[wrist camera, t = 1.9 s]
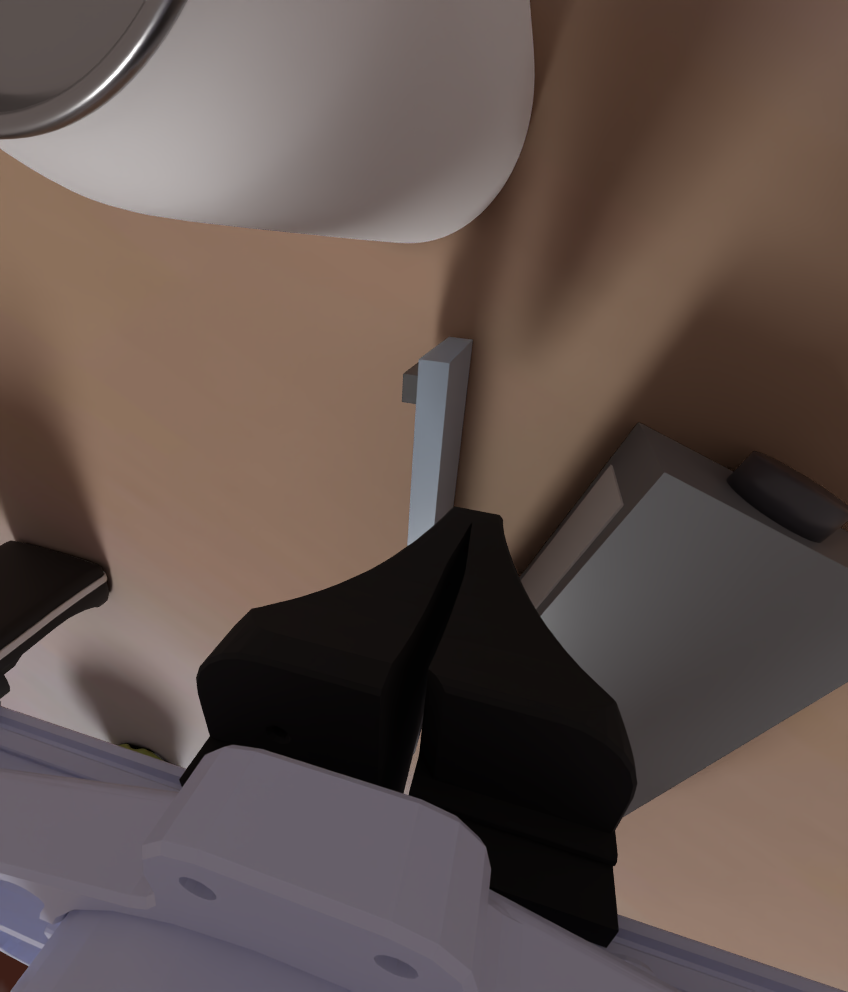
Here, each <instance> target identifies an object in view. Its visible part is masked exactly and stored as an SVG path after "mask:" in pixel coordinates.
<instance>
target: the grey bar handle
mask: <svg viewBox="0 0 848 992" xmlns="http://www.w3.org/2000/svg"><path fill="white" fill-rule="evenodd" d="M472 343H473V340H472V339H463V338H455V337H448V338H447V339H445V340H444V341H443V342H441V343H440V344H439V345H437V346H436V347H435V348H433V349H432V350H431V351H429V352H428V353H427V354H425V355H424V356H423V357H421V358H420V359H419V362H418V363H417V364H415V365H414V366H413V367H412V368H410V369H409V370H408V371H406V372H405V373H404V374H403V390H402V402H406V403H413V404H416V415H415V431H414V447H413V464H412V480H411V496H410V513H409V529H408V545H410V544H411V543H413V542H414V541H415V540H417V539H418V538H419V537H420V536H421V535H423V534H424V533H425V532H426V531H428V530H429V529H430V528H431V527H432V526H433V525H435V524H436V523H437V522H438V521H439V520H440V519H441V518H442V517H443V516H444V515H445V514H446V513H447V512H448V511H449V510H450V509H452V508H453V506H454V497H455V489H456V480H457V471H458V463H459V454H460V446H461V437H462V429H463V420H464V412H465V403H466V394H467V386H468V377H469V369H470V360H471V352H472ZM408 545H407V546H408ZM423 714H424V713H423ZM422 724H423V717H422V721H421V725H420V729H419V733H418V737H417V741H416V744H415V748H414V752H413V754H414V753H415V750H416V747H417V743H418V739H419V736H420V732H421V729H422Z"/></svg>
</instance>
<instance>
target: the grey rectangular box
mask: <svg viewBox="0 0 848 992" xmlns="http://www.w3.org/2000/svg"><path fill="white" fill-rule="evenodd" d="M847 521H848V506H847V505H846V504H845V503H844V502H842V501H841V500H840V499H838V498H837V497H836V496H834V495H833V494H832V493H830V492H829V491H827V490H826V489H824V488H823V487H821V486H820V485H818V484H817V483H815V482H814V481H812V480H811V479H809V478H807V477H806V476H804V475H802V474H801V473H799V472H797V471H796V470H794V469H792V468H790V467H789V466H787V465H785V464H783V463H781V462H779V461H777V460H775V459H773V458H771V457H769V456H767V455H765V454H762V453H760V452H756V451H753V452H752V453H751V454H750V455H749V456H748V457H747V458H746V459H745V460H744V461H743V462H742V464H741V465H740V466H739V467H738V468H737V469H736V470H735V471H734V472H733V471H731V470H729V469H727V468H725V467H723V466H722V465H720V464H718V463H716V462H714V461H712V460H710V459H708V458H706V457H704V456H702V455H700V454H699V453H697V452H695V451H693V450H691V449H689V448H687V447H685V446H683V445H681V444H679V443H678V442H676V441H674V440H672V439H670V438H668V437H666V436H664V435H662V434H660V433H658V432H657V431H655V430H653V429H651V428H649V427H647V426H645V425H643V424H641V423H639V422H638V423H637V425H636V426H635V427H634V429H633V430H632V431H631V432H630V434H629V435H628V436H627V438H626V439H625V440H624V442H623V443H622V444H621V446H620V447H619V448H618V449H617V451H616V452H615V453H614V455H613V456H612V457H611V459H610V460H609V461H608V462H607V464H606V465H605V466H604V468H603V469H602V470H601V472H600V473H599V474H598V476H597V477H596V478H595V479H594V481H593V482H592V483H591V485H590V486H589V487H588V489H587V490H586V491H585V492H584V494H583V495H582V496H581V498H580V499H579V500H578V502H577V503H576V504H575V506H574V507H573V508H572V509H571V511H570V512H569V513H568V515H567V516H566V517H565V519H564V520H563V521H562V522H561V524H560V525H559V526H558V528H557V529H556V530H555V532H554V533H553V534H552V536H551V537H550V538H549V539H548V541H547V542H546V543H545V545H544V546H543V547H542V549H541V550H540V551H539V552H538V554H537V555H536V556H535V558H534V559H533V560H532V562H531V563H530V564H529V566H528V567H527V568H526V569H525V571H524V572H523V573H522V575H521V576H520V577H519V578H520V580H521V582H522V585H523V587H524V589H525V591H526V593H527V594H528V596H529V598H530V600H531V602H532V603H533V605H534V607H535V608H536V610H537V612H538V613H539V615H540V616H541V618H542V619H543V621H544V623H545V624H546V626H547V627H548V628H549V630H550V631H551V632H552V633H553V635H554V636H555V637H556V639H557V640H558V641H559V643H560V644H561V645H562V647H563V648H564V649H565V650H566V651H567V653H568V654H569V655H570V656H571V657H572V658H573V659H574V660H575V662H576V663H577V664H578V665H579V666H580V667H581V668H582V669H583V670H584V671H585V672H586V673H587V674H588V675H589V676H590V677H591V678H592V679H593V680H594V681H595V682H596V683H597V684H598V685H599V686H600V687H602V688H603V689H604V690H605V691H606V692H607V693H608V694H609V695H610V696H611V697H612V698H613V699H614V700H615V701H616V703H617V705H618V708H619V711H620V713H621V716H622V719H623V722H624V725H625V728H626V731H627V735H628V738H629V741H630V745H631V748H632V752H633V756H634V761H635V767H636V778H637V783H638V784H637V787H636V791H635V794H634V798H633V799H632V801H631V803H630V805H629V807H628V808H627V810H626V812H625V814H624V815H623V817H624V816H626V815H627V814H629V813H631V812H632V811H634V810H636V809H637V808H639V807H641V806H642V805H644V804H646V803H647V802H649V801H651V800H652V799H654V798H656V797H657V796H659V795H661V794H662V793H664V792H666V791H667V790H669V789H671V788H672V787H674V786H676V785H677V784H679V783H681V782H682V781H684V780H686V779H687V778H689V777H691V776H692V775H694V774H696V773H697V772H699V771H701V770H702V769H704V768H706V767H707V766H709V765H711V764H712V763H714V762H716V761H717V760H719V759H721V758H722V757H724V756H725V755H727V754H729V753H730V752H732V751H734V750H735V749H737V748H739V747H740V746H742V745H744V744H745V743H747V742H749V741H750V740H752V739H754V738H755V737H757V736H759V735H760V734H762V733H764V732H765V731H767V730H769V729H770V728H772V727H774V726H775V725H777V724H779V723H780V722H782V721H784V720H785V719H787V718H789V717H790V716H792V715H794V714H795V713H797V712H799V711H800V710H802V709H804V708H805V707H807V706H809V705H810V704H812V703H814V702H815V701H817V700H819V699H820V698H822V697H824V696H825V695H827V694H829V693H830V692H832V691H833V690H835V689H837V688H838V687H840V686H842V685H843V684H845V683H847V682H848V531H846V530H844V529H842V528H840V527H841V526H842V525H844V524H845V523H846V522H847Z"/></svg>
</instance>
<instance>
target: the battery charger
mask: <svg viewBox="0 0 848 992" xmlns="http://www.w3.org/2000/svg"><path fill="white" fill-rule="evenodd" d="M106 581H107V576H106V573H105V572H103V570H102V568H101V566H99V565H97V564H94V563H91V562H88V561H86V560H83V559H80V558H76V557H73V556H70V555H67V554H63V553H60V552H57V551H53V550H49V549H46V548H42V547H38V546H34V545H30V544H26V543H21V542H17V541H8V542H6V543H4V544H2V545H1V546H0V699H1V698H2V697H3V696H4V695H6V694H7V693H8V692H9V691H10V686H9V684H8V681H7V679H6V678H5V676H4V674H5V673H6V672H8V671H9V670H10V669H12V668H13V667H14V666H15V665H16V663H17V662H18V660H19V659H20V657H21V656H22V654H23V653H25V652H26V651H27V650H28V649H30V648H31V647H32V646H33V645H35V644H36V643H37V642H38V641H40V640H41V639H42V638H43V637H45V636H46V635H47V634H48V633H50V632H51V631H52V630H53V629H55V628H56V627H57V626H59V625H60V624H61V623H63V622H64V621H66V620H67V619H68V618H70V617H72V616H74V615H76V614H78V613H80V612H82V611H84V610H87V609H90V608H93V607H100V606H101V605H102V604H104V603H105V602H106V601H107V600H108V596H109V591H108V585H107V582H106Z"/></svg>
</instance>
